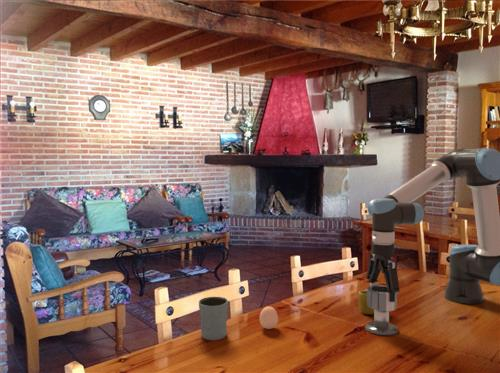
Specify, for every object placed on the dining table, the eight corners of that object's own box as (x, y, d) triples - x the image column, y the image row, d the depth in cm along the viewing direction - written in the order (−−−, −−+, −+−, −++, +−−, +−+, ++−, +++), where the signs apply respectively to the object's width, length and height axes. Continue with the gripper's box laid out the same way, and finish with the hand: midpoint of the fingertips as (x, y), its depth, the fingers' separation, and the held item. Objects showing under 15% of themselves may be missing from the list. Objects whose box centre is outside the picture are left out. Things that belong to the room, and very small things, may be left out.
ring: (386, 300, 165) (386, 284, 164) (402, 309, 155) (402, 292, 155) (361, 302, 162) (362, 286, 162) (376, 312, 152) (377, 294, 152)
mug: (388, 313, 169) (380, 287, 171) (362, 320, 172) (354, 294, 173) (387, 309, 181) (379, 284, 183) (362, 315, 183) (355, 290, 185)
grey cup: (205, 343, 149) (205, 307, 148) (194, 332, 158) (194, 298, 157) (233, 337, 153) (233, 302, 152) (221, 327, 162) (220, 294, 161)
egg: (257, 330, 159) (256, 308, 158) (262, 323, 165) (262, 302, 164) (275, 333, 156) (275, 311, 156) (280, 326, 163) (280, 304, 162)
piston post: (386, 322, 166) (386, 298, 165) (404, 333, 155) (404, 308, 155) (359, 325, 163) (360, 301, 162) (375, 337, 152) (376, 311, 152)
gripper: (357, 237, 167) (356, 296, 168) (392, 250, 145) (390, 317, 147) (375, 236, 169) (373, 294, 170) (412, 249, 147) (410, 315, 149)
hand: (381, 305), depth 158 cm, fingers closed on ring, 10 cm apart
